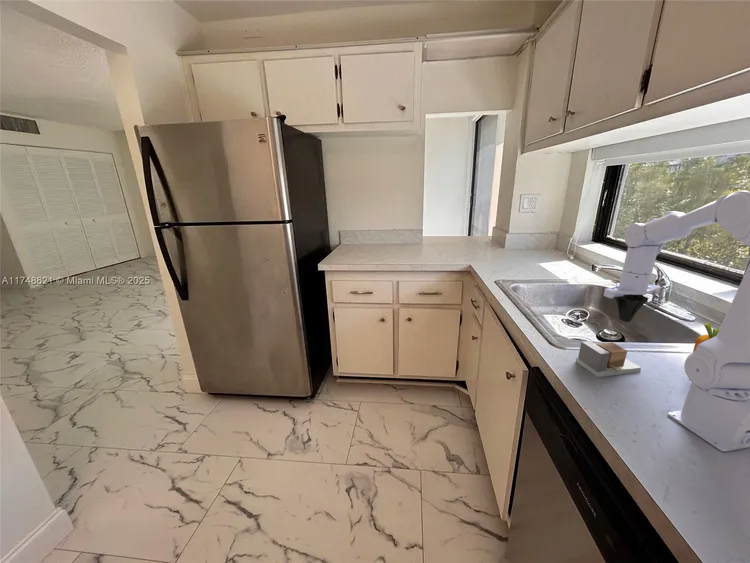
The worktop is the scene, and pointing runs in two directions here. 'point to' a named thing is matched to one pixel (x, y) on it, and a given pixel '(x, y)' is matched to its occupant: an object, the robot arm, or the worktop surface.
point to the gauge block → (614, 355)
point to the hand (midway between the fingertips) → (624, 320)
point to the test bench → (609, 372)
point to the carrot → (706, 337)
